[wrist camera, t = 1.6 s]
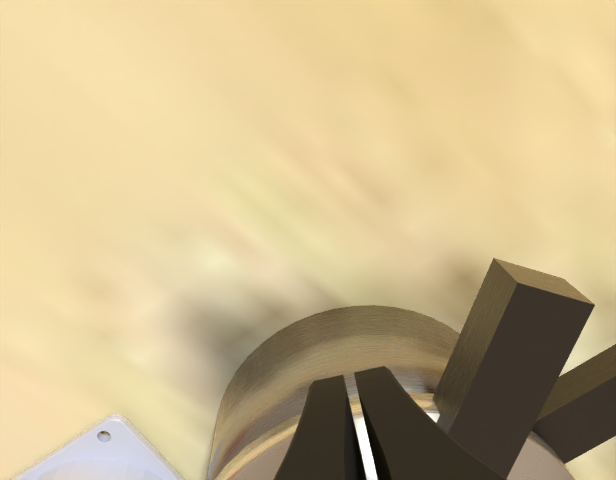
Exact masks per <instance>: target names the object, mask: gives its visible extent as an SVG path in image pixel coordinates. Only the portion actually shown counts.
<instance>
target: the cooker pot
mask: <svg viewBox="0 0 616 480" xmlns="http://www.w3.org/2000/svg"><path fill="white" fill-rule="evenodd" d="M459 336H460V334H459V333H457V332H456V331H454V330H453V329H452V328H450V327H449V326H447V325H445V324H443V323H441V322H439V321H437V320H435V319H433V318H431V317H428V316H425V315H422V314H419V313H417V312H414V311H409V310H405V309H400V308H395V307H386V306H375V305H374V306H351V307H345V308H338V309H332V310H329V311H325V312H322V313H318V314H314V315H312V316H309V317H307V318H304V319H302V320H299V321H297V322H295V323H293V324H291V325H289V326H288V327H286V328H284V329H282V330H280V331H279V332H277V333H276V334H274V335H273V336H272V337H270V338H269V339H267V340H266V341H265V342H263V343H262V344H261V345H260V346H259V347H258V348H257V349H256V350H255V351H254V352H253V353H252V354H250V355H249V356H248V358H247V359H246V360H245V361H244V363H243V364H242V365H241V366H240V368H239V369H238V370H237V371H236V373H235V375H234V377H233V378H232V380H231V382H230V383H229V385H228V387H227V389H226V392H225V394H224V397H223V399H222V401H221V405H220V409H219V413H218V417H217V423H216V429H215V435H214V441H213V447H212V453H211V459H210V465H209V471H208V477H207V480H215V479H216V477H217V476H218V475H219V474H220V472H221V471H222V470H223V469H224V468H225V466H226V465H227V464H228V463H229V462H230V461H231V460H232V459H233V458H234V457H235V456H237V455H238V454H239V453H240V452H241V451H242V450H243V449H244V448H245V447H246V446H247V445H249V444H250V443H252V442H253V441H254V440H256V439H257V438H259V437H260V436H261V435H263V434H264V433H266V432H267V431H268V430H270V429H272V428H274V427H276V426H277V425H279V424H281V423H283V422H285V421H287V420H288V419H290V418H292V417H294V416H296V415H299V414H301V413H302V412H303V409H304V405H305V402H306V399H307V395H308V390H309V387H310V385H311V384H312V382H313V381H316V380H321V379H325V378H330V377H335V376H339V375H343V376H344V380H345V384H346V389H347V393H348V397H349V398H351V397H357V396H359V395H358V390H357V385H356V380H355V376H354V372H358V371H363V370H368V369H372V368H377V367H382V366H385V367H386V368H388V369H390V370H391V372H392V374H393V375H394V377H395V378H396V379H397V381H398V382H399V383H400V385H401V386H402V387H403V388H404V390H405V391H406V392H418V393H432V394H434V393H435V391H436V388H437V386H438V384H439V381H440V379H441V377H442V375H443V372H444V370H445V368H446V365H447V363H448V361H449V359H450V356H451V354H452V352H453V350H454V347H455V345H456V343H457V340H458V338H459ZM532 431H533V432H535V433H536V434H537V435H538V436H539V437H540V438H541V439H542V440H543V441H545V442H546V443H547V444H548V445H549V446H550V447H551V448H552V449H553V450H554V451H555V453H556V454H557V455H558V456H559V458H560V459H561V460H562V461H563V463H564V464H565V463H567V462H569V461H571V460H573V459H574V458H576V457H578V456H580V455H582V454H583V453H585V452H587V451H589V450H591V449H592V448H594V447H596V446H598V445H600V444H602V443H603V442H605V441H607V440H609V439H611V438H612V437H614V436H616V344H615V345H613V346H612V347H610V348H608V349H607V350H605V351H603V352H601V353H600V354H598V355H596V356H595V357H593V358H591V359H589V360H588V361H586V362H584V363H582V364H581V365H579V366H577V367H576V368H574V369H572V370H570V371H569V372H567V373H565V374H563V375H562V376H560V377H558V379H557V381H556V383H555V385H554V387H553V388H552V390H551V392H550V394H549V396H548V398H547V400H546V402H545V404H544V406H543V408H542V410H541V412H540V414H539V416H538V418H537V420H536V422H535V424H534V426H533V428H532Z"/></svg>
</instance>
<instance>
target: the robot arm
mask: <svg viewBox="0 0 616 480" xmlns="http://www.w3.org/2000/svg"><path fill="white" fill-rule="evenodd" d="M354 376H355V380H356V385H357V390H358V395H359V399H360V404H361V408H362V413H363V417H364V422H365V426H366V430H367V435H368V439H369V444H370V448H371V453H372V457H373V462H374V466H375V471H376V475H377V480H507V479H506V478H504V477H502V476H501V475H500V474H498V473H497V472H495V471H494V470H493V469H491V468H490V467H488V466H487V465H486V464H484V463H483V462H482V461H480V460H479V459H478V458H476V457H475V456H474V455H472V454H471V453H470V452H469V451H467V450H466V449H465V448H464V447H463V446H461V445H460V444H459V443H458V442H457V441H456V440H454V439H453V438H452V437H451V436H450V435H449V434H447V433H446V432H445V431H444V430H443V429H442V428H441V427H440V426H439V425H438V424H437V423H436V422H435V421H434V420H433V419H432V418H431V417H430V416H429V415H428V414H427V413H426V412H425V411H424V410H423V409H422V408H421V407H420V406H419V405H418V404H417V403H416V402H415V401H414V400H413V399H412V398H411V397H410V395H409V394H408V393H407V392H406V391H405V390H404V388H403V387H402V386H401V385H400V383H399V382H398V381H397V379H396V378H395V377H394V375H393V374H392V372H391V370H390V369H388V368H386V367H385V366H382V367H377V368H372V369H368V370H363V371H358V372H354ZM101 431H107V432H108V433H109V434H110V435H109V436H105V435H103V434H102V433H101ZM11 480H184V479H183V478H182V477H181V475H180V474H179V473H178V472H177V471H176V470H175V469H174V468H173V467H172V466H171V465H170V464H169V463H168V462H167V461H166V460H165V459H164V458H163V457H162V456H161V455H160V454H159V452H158V451H157V450H156V449H155V448H154V447H153V446H152V445H151V444H150V443H149V442H148V441H147V440H146V439H145V438H144V437H143V436H142V435H141V434H140V433H139V432H138V430H137V429H136V428H135V427H134V426H133V425H132V424H131V423H130V422H129V421H128V420H127V419H126V418H125V417H123V416H122V415H118V414H112V415H110V416H107V417H106V418H104V419H103V420H101V421H100V422H98V423H97V424H95V425H94V426H92V427H90V428H89V429H87V430H86V431H84V432H83V433H81V434H80V435H78V436H77V437H75V438H74V439H72V440H70V441H69V442H67V443H66V444H64V445H63V446H61V447H60V448H58V449H57V450H55V451H54V452H52V453H50V454H49V455H47V456H46V457H44V458H43V459H41V460H40V461H38V462H37V463H35V464H34V465H32V466H30V467H29V468H27V469H26V470H24V471H23V472H21V473H20V474H18V475H17V476H15V477H14V478H12V479H11ZM273 480H367V478H366V473H365V468H364V463H363V458H362V454H361V449H360V445H359V441H358V436H357V432H356V428H355V423H354V419H353V415H352V410H351V406H350V402H349V397H348V393H347V389H346V384H345V380H344V376H343V375H339V376H335V377H330V378H325V379H321V380H316V381H313V382H312V384H311V385H310V387H309V390H308V395H307V399H306V402H305V405H304V409H303V412H302V415H301V417H300V420H299V423H298V426H297V428H296V431H295V433H294V436H293V438H292V441H291V443H290V446H289V448H288V450H287V453H286V455H285V457H284V459H283V461H282V463H281V465H280V467H279V469H278V471H277V473H276V475H275V477H274V479H273Z"/></svg>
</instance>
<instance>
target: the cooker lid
mask: <svg viewBox="0 0 616 480" xmlns="http://www.w3.org/2000/svg"><path fill="white" fill-rule="evenodd" d="M594 306H595V305H594V304H593V303H592V302H591V301H590V300H588V299H587V298H586V297H585V296H584V295H582V294H581V293H580V292H579V291H578V290H576V289H575V288H574V287H573V286H572V285H570V284H569V283H568V282H567V281H566V280H564V279H563V278H559V277H556V276H552V275H549V274H546V273H542V272H539V271H536V270H532V269H529V268H525V267H522V266H519V265H515V264H512V263H508V262H505V261H502V260H498V259H495V258H493V261H492V263H491V265H490V268H489V270H488V272H487V274H486V277H485V279H484V281H483V284H482V286H481V288H480V290H479V293H478V295H477V297H476V299H475V302H474V304H473V306H472V309H471V311H470V313H469V315H468V318H467V320H466V322H465V324H464V327H463V329H462V331H461V334H460V336H459V338H458V340H457V343H456V345H455V347H454V350H453V352H452V354H451V356H450V359H449V361H448V363H447V365H446V368H445V370H444V372H443V375H442V377H441V379H440V381H439V384H438V386H437V388H436V391H435V393H434V394H432V393H418V392H407V393H408V394H409V395H410V397H411V398H412V399H413V400H414V401H415V402H416V403H417V404H418V405H419V406H420V407H421V408H422V409H423V410H424V411H425V412H426V413H427V414H428V415H429V416H430V417H431V418H432V419H433V420H434V421H435V422H436V423H437V424H438V425H439V426H440V427H441V428H442V429H443V430H444V431H445V432H446V433H447V434H449V435H450V436H451V437H452V438H453V439H454V440H456V441H457V442H458V443H459V444H460V445H461V446H463V447H464V448H465V449H466V450H467V451H469V452H470V453H471V454H472V455H474V456H475V457H476V458H478V459H479V460H480V461H482V462H483V463H484V464H486V465H487V466H488V467H490V468H491V469H493V470H494V471H495V472H497V473H498V474H500V475H501V476H502V477H504V478H506V479H507V480H575V478H574V477H573V475H572V474H571V472H570V471H569V469H568V468H567V466H566V465H565V464H564V463H563V461H562V460H561V459H560V458H559V456H558V455H557V454H556V453H555V451H554V450H553V449H552V448H551V447H550V446H549V445H548V444H547V443H546V442H545V441H543V440H542V439H541V438H540V437H539V436H538V435H537V434H536V433H535V432H533V431H532V428H533V426H534V424H535V422H536V420H537V418H538V416H539V414H540V412H541V410H542V408H543V406H544V404H545V402H546V400H547V398H548V396H549V394H550V392H551V390H552V388H553V387H554V385H555V383H556V381H557V379H558V377H559V375H560V373H561V371H562V369H563V367H564V365H565V363H566V361H567V359H568V357H569V355H570V353H571V351H572V349H573V347H574V345H575V343H576V341H577V339H578V337H579V335H580V333H581V331H582V330H583V328H584V326H585V324H586V322H587V320H588V318H589V316H590V314H591V312H592V310H593V308H594ZM349 402H350V406H351V410H352V415H353V419H354V423H355V428H356V432H357V436H358V441H359V445H360V449H361V454H362V458H363V463H364V468H365V473H366V478H367V480H377V475H376V471H375V466H374V462H373V457H372V453H371V448H370V444H369V439H368V435H367V430H366V426H365V422H364V417H363V413H362V408H361V404H360V399H359V396H357V397H351V398H349ZM301 415H302V413H301V414H299V415H296V416H294V417H292V418H290V419H288V420H287V421H285V422H283V423H281V424H279V425H277V426H276V427H274V428H272V429H270V430H268V431H267V432H266V433H264V434H263V435H261V436H260V437H259V438H257V439H256V440H254V441H253V442H252V443H250V444H249V445H247V446H246V447H245V448H244V449H243V450H242V451H241V452H240V453H239V454H238V455H237V456H235V457H234V458H233V459H232V460H231V461H230V462H229V463H228V464H227V465H226V466H225V468H224V469H223V470H222V471H221V472H220V474H219V475H218V476H217V477H216V479H215V480H273V479H274V477H275V475H276V473H277V471H278V469H279V467H280V465H281V463H282V461H283V459H284V457H285V455H286V453H287V450H288V448H289V446H290V443H291V441H292V438H293V436H294V433H295V431H296V428H297V426H298V423H299V420H300V417H301Z"/></svg>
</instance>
